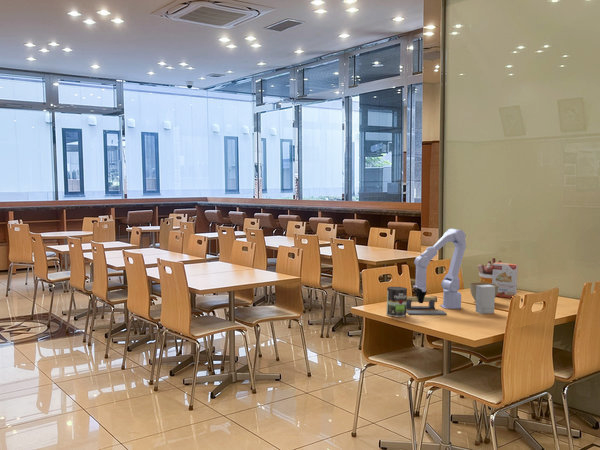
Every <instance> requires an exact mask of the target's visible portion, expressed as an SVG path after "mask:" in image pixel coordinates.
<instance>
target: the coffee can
mask: <svg viewBox="0 0 600 450" xmlns="http://www.w3.org/2000/svg"><path fill="white" fill-rule="evenodd" d="M407 293H408V288H407V287H402V286H388V287H386V311H385V313H386V314H387V315H386V316H388V315H389V316H388V317H392V316H395V317H394V318H403V317H406V316H407V312H406V310H407V309H406V300H407V297H408V294H407Z"/></svg>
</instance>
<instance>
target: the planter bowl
mask: <svg viewBox="0 0 600 450" xmlns="http://www.w3.org/2000/svg"><path fill="white" fill-rule="evenodd" d="M476 285H492V286H495V298H496V297H497V296H496V295H497V293H498V287H499V285H497V284H492V283H481V282H471V283H469V288H470V294H471V296H472V298H473V300H474V303H476Z"/></svg>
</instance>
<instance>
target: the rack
mask: <svg viewBox="0 0 600 450" xmlns="http://www.w3.org/2000/svg"><path fill="white" fill-rule="evenodd" d="M435 303H436V302H435V300H430V302H428V306H427V305H412V300H407V302H406V310H429V311H436V307H435Z"/></svg>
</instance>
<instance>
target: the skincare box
mask: <svg viewBox="0 0 600 450" xmlns="http://www.w3.org/2000/svg"><path fill="white" fill-rule="evenodd" d="M495 298H496V297H495V286H492V285H476V302H475V312H476V313H478V314H480V315H487V314H495V300H496V299H495Z"/></svg>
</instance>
